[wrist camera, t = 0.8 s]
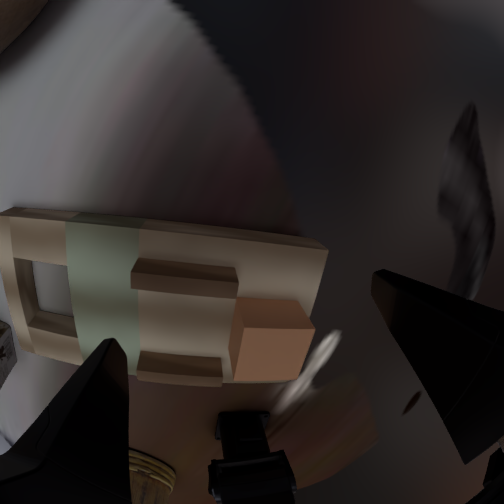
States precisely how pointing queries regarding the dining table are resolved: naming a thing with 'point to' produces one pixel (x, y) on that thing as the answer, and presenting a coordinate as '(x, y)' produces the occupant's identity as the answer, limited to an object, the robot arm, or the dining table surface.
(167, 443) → the dining table surface
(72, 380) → the robot arm
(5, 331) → the coffee box
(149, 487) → the tankard
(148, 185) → the dining table surface
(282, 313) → the block
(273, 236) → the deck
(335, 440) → the dining table surface
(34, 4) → the ceramic bowl
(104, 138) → the dining table surface
